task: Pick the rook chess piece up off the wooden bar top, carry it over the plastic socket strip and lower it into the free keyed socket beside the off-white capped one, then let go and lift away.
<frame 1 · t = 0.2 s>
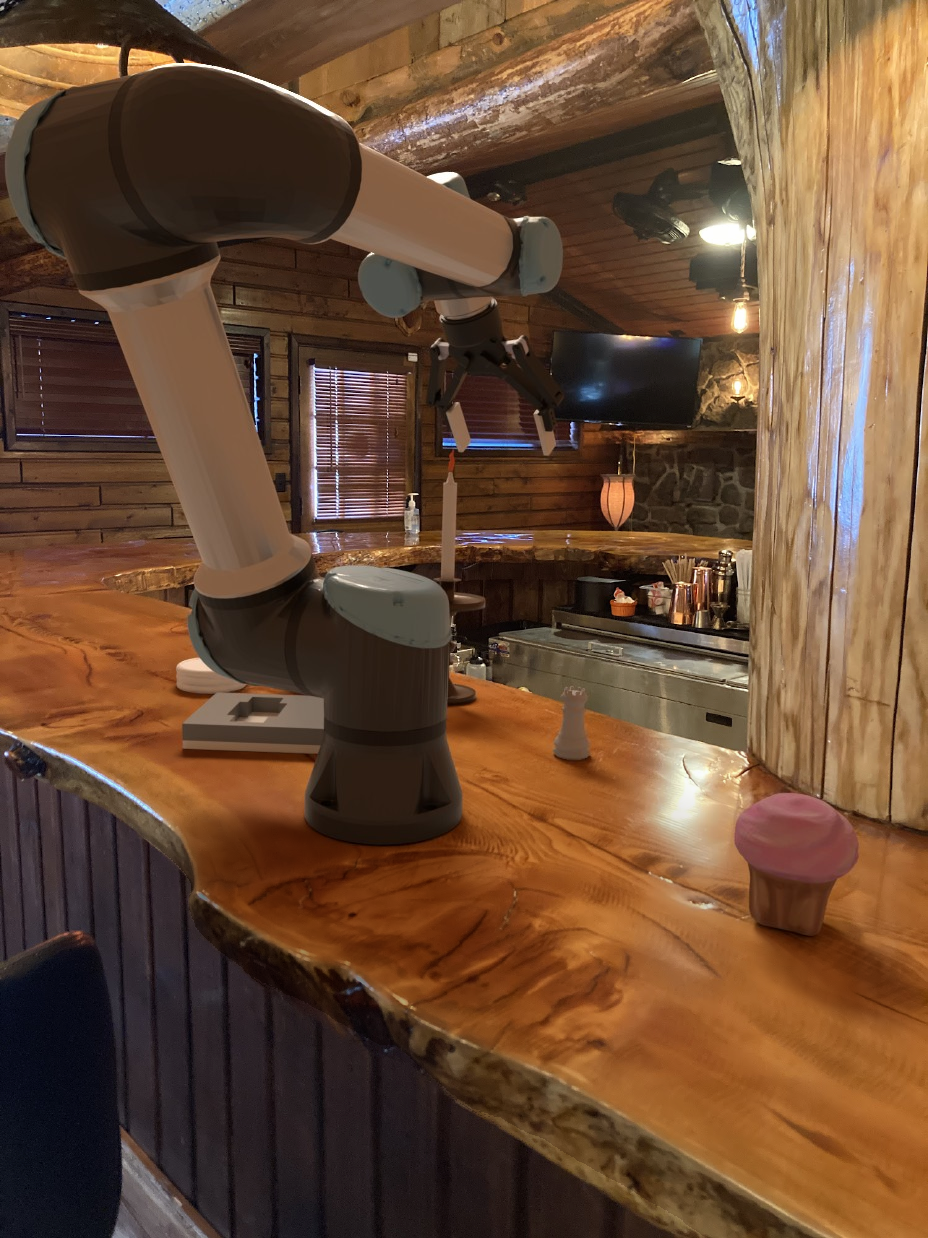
hand: (506, 448, 130), 35 cm above the counter, tool tilted 35°, fingers open, 13 cm apart
socket strip: (306, 734, 113), on the counter
rook chess piece: (571, 756, 109), on the counter
glass holder: (325, 683, 139), on the counter
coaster: (212, 687, 135), on the counter
cupcake: (786, 923, 71), on the counter
candlestick: (443, 698, 132), on the counter
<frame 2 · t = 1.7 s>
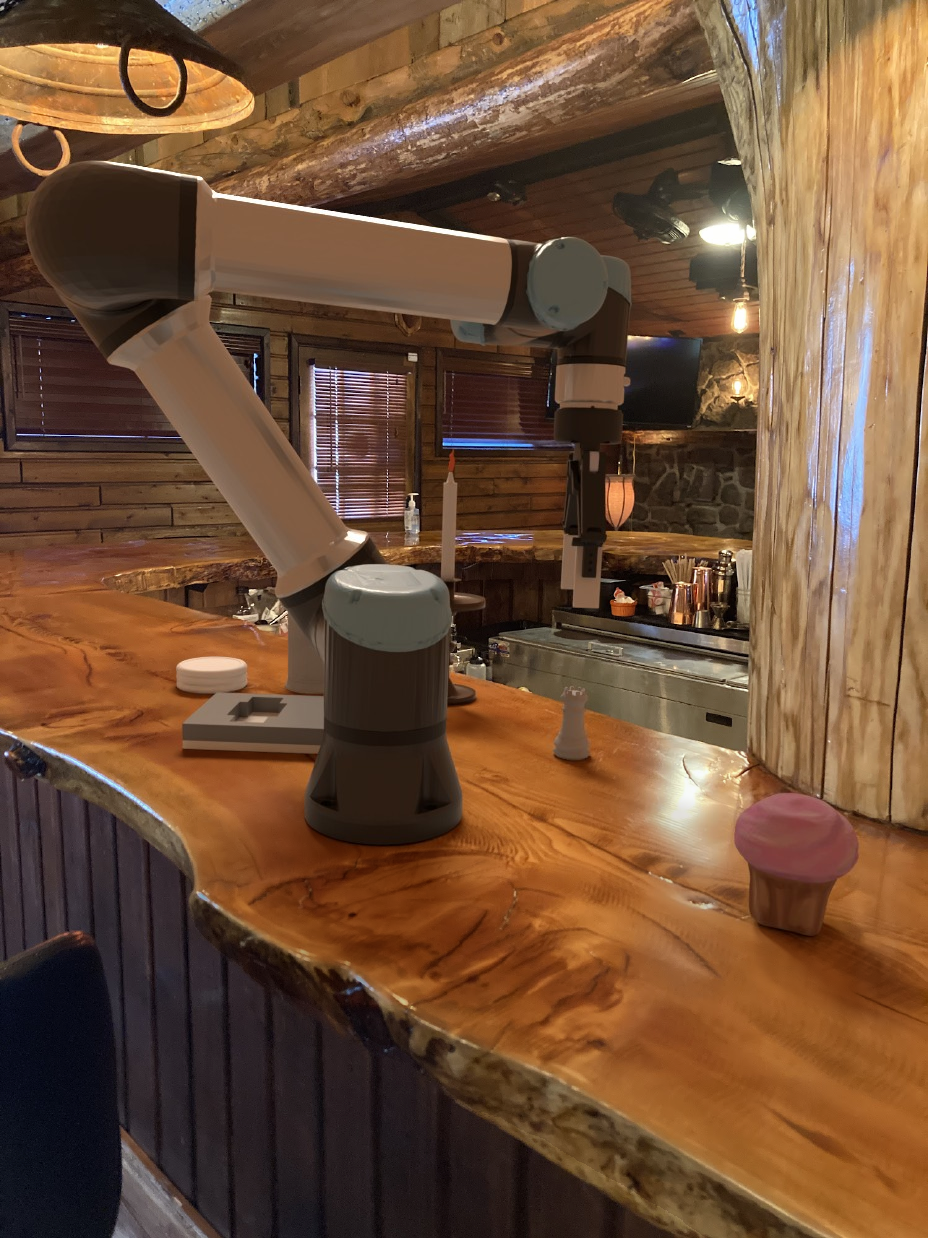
hand: (578, 597, 105), 19 cm above the counter, tool pointing down, fingers open, 13 cm apart
nothing on the counter moved.
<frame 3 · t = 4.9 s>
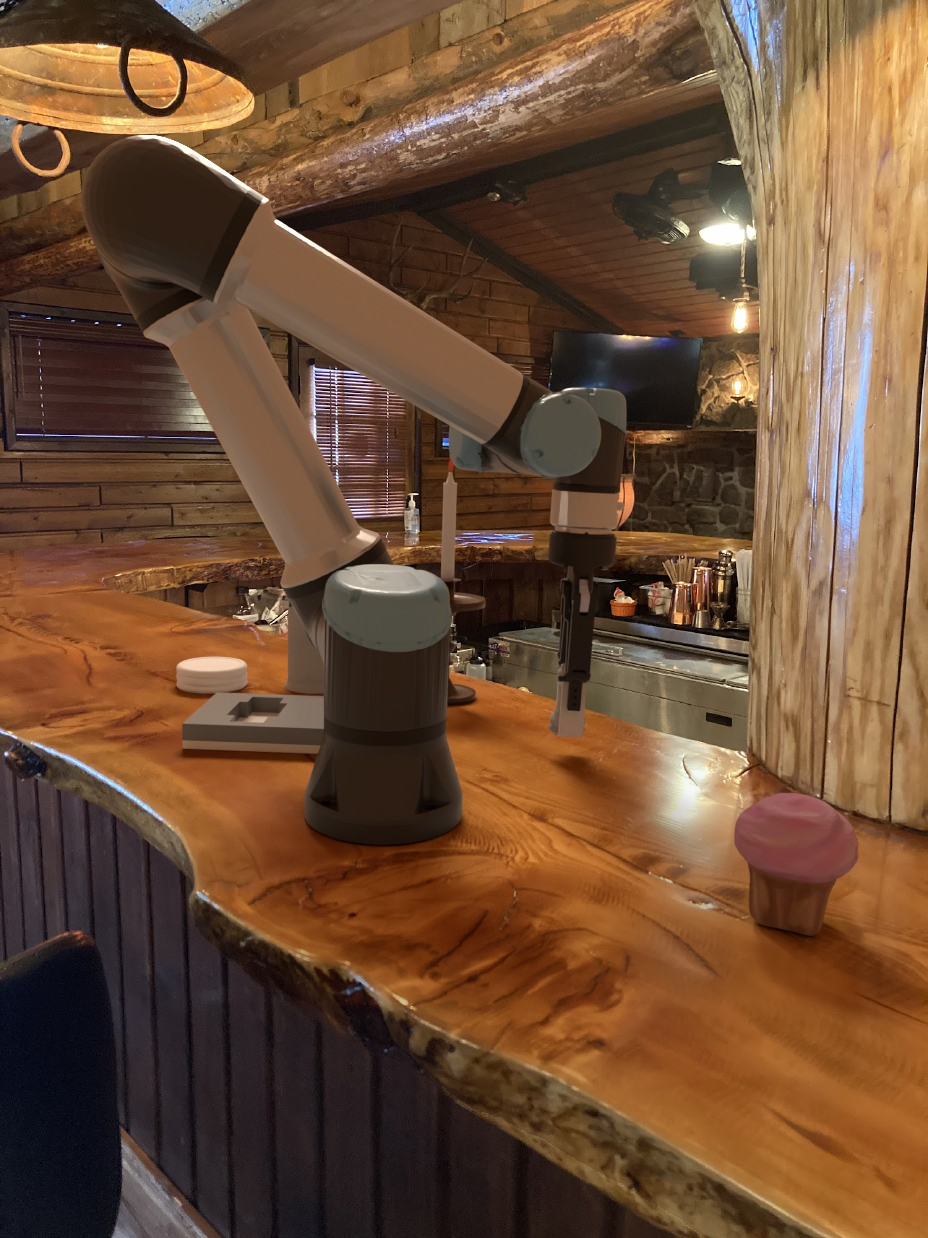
hand: (568, 729, 108), 3 cm above the counter, tool pointing down, fingers closed on rook chess piece, 4 cm apart
rook chess piece: (566, 733, 108), point 3 cm above the counter, touching gripper
everything else where it was.
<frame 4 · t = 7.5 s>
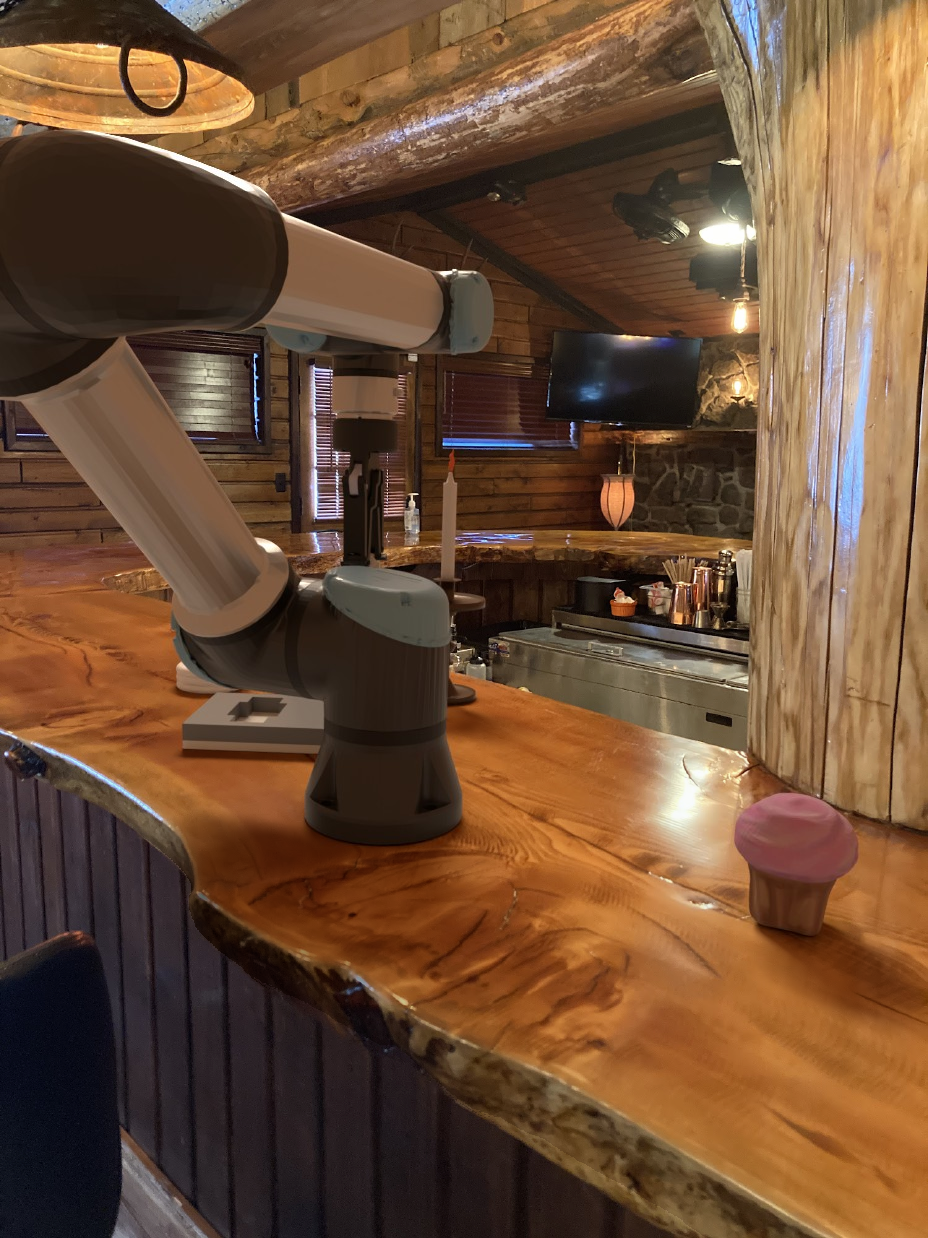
hand: (364, 618, 109), 15 cm above the counter, tool pointing down, fingers closed on rook chess piece, 4 cm apart
rook chess piece: (363, 622, 109), point 14 cm above the counter, touching gripper
everything else where it was.
when the fingers open (3 cm above the counter, at t = 10.3 s): rook chess piece drops 2 cm, resting on socket strip.
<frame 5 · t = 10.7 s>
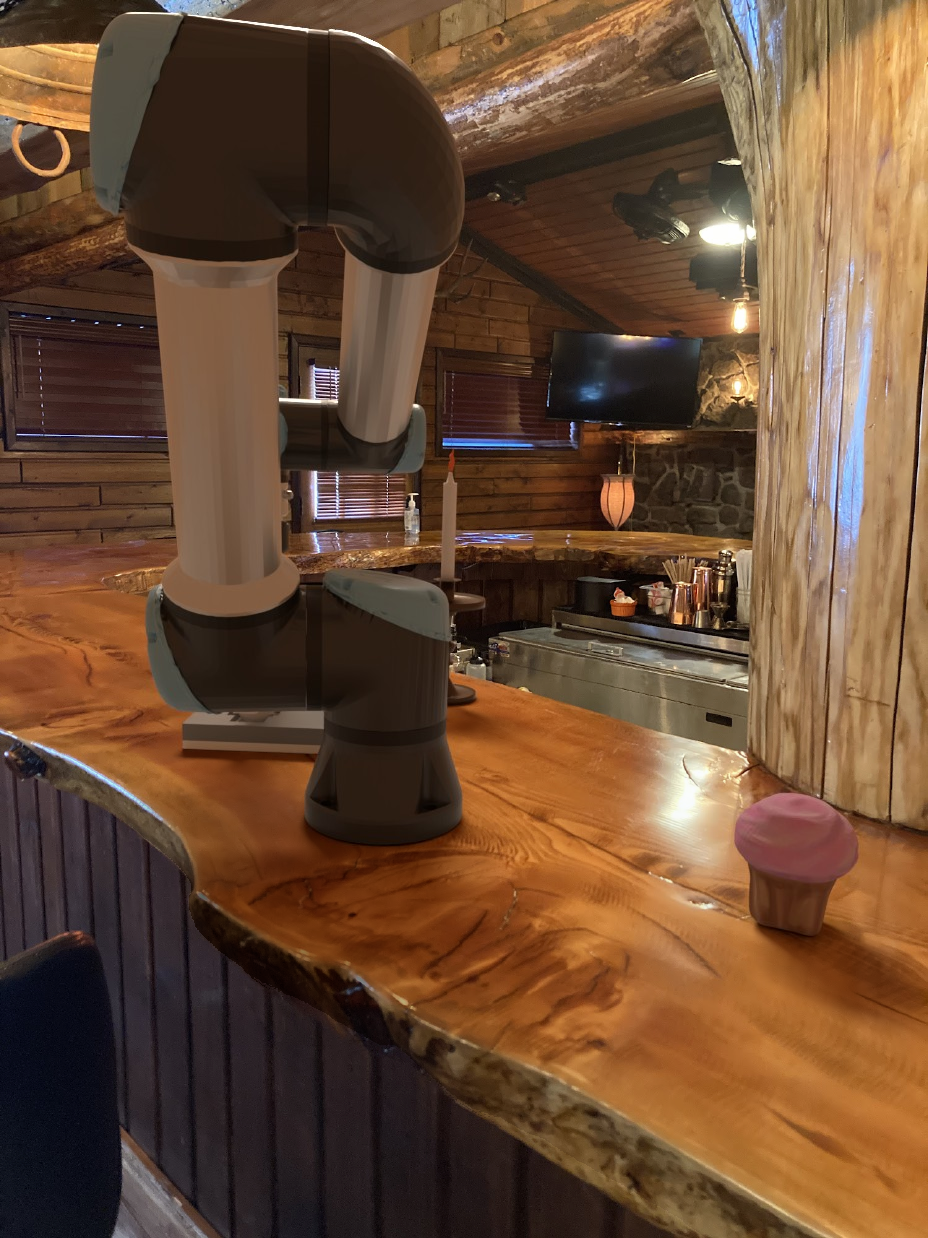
hand: (257, 699, 112), 4 cm above the counter, tool pointing down, fingers open, 11 cm apart
rook chess piece: (257, 726, 113), point 1 cm above the counter, touching socket strip
everything else where it was.
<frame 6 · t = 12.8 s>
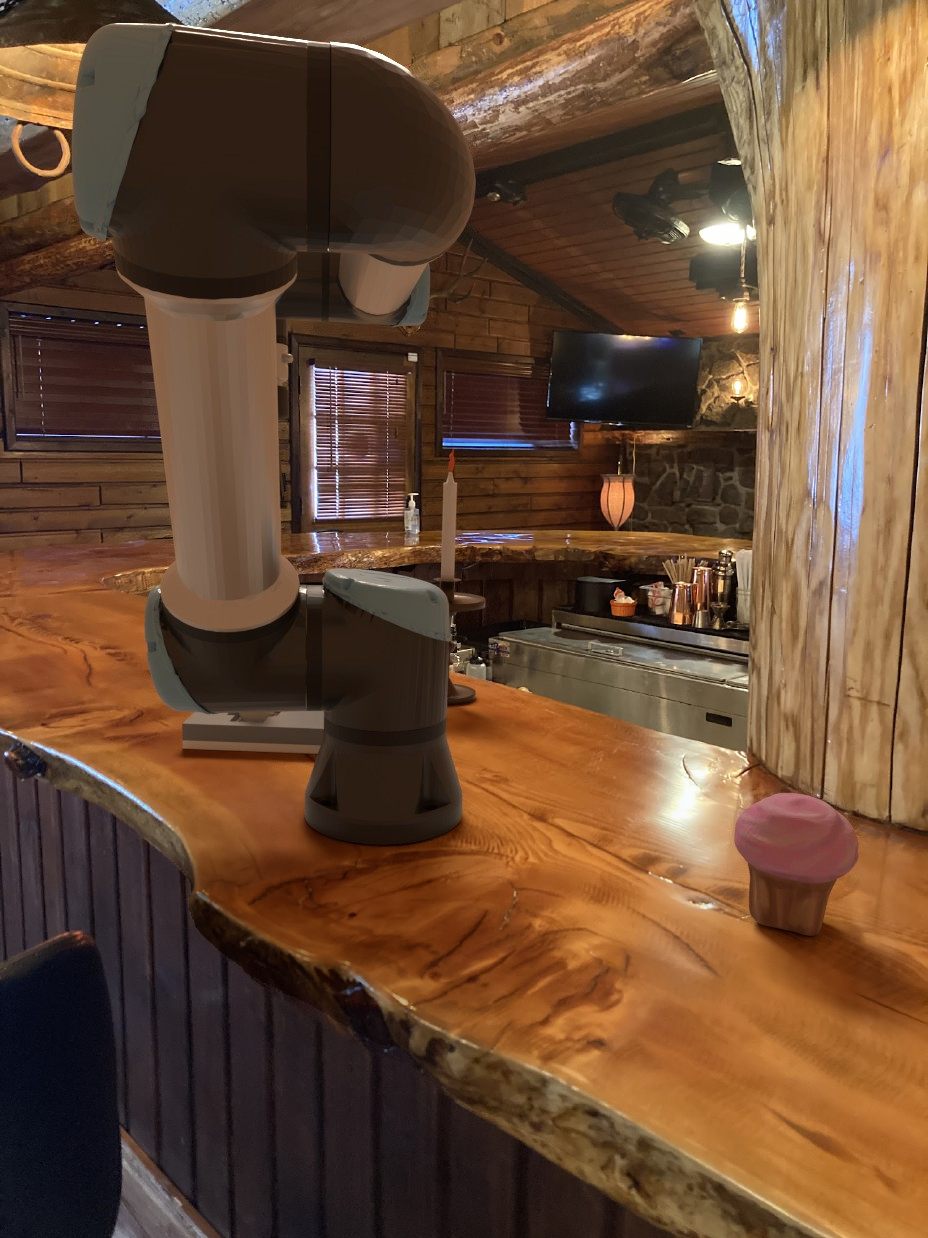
hand: (256, 568, 109), 20 cm above the counter, tool pointing down, fingers open, 13 cm apart
nothing on the counter moved.
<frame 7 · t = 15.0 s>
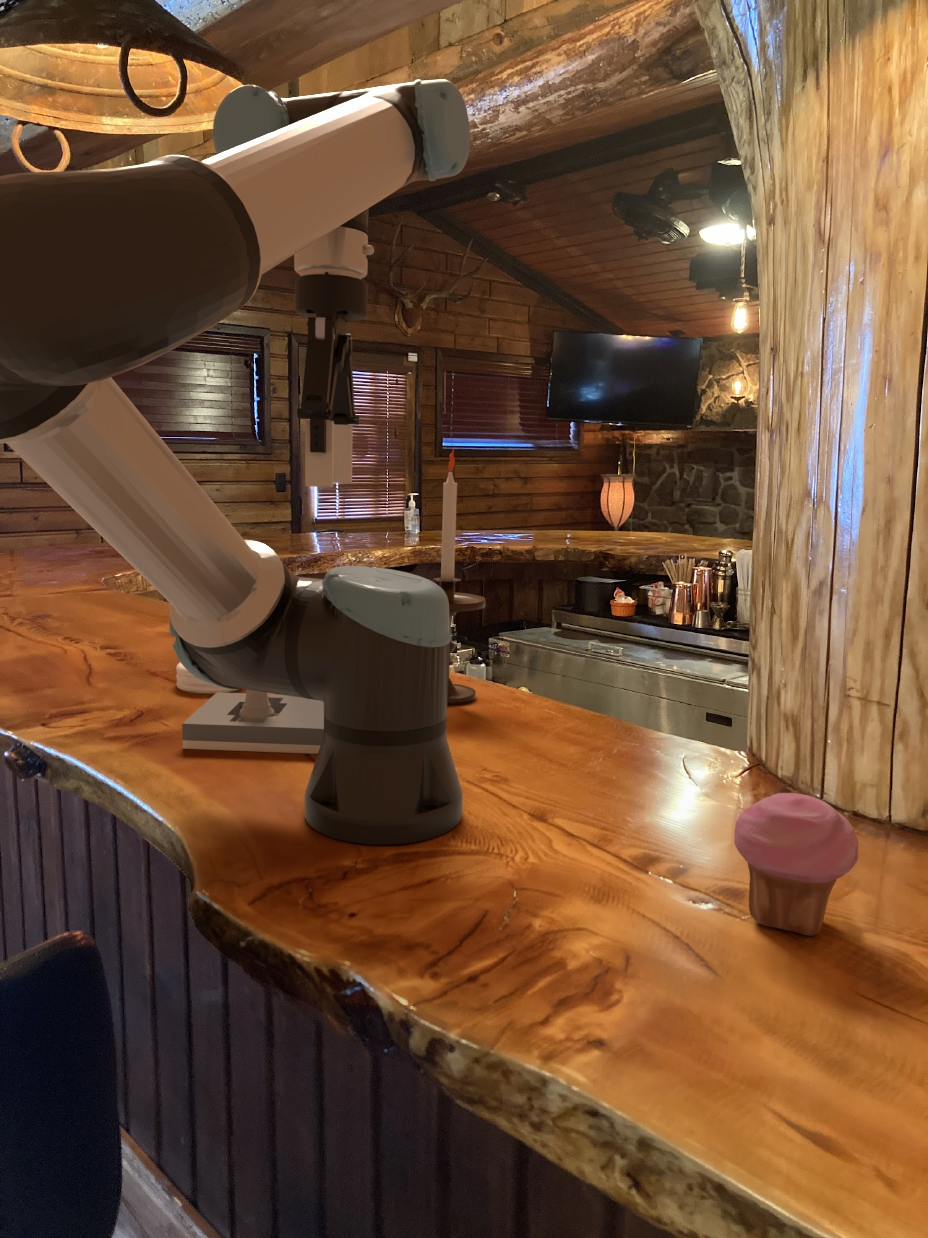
hand: (330, 484, 99), 31 cm above the counter, tool pointing down, fingers open, 13 cm apart
nothing on the counter moved.
at the end: rook chess piece 0.1 cm from the target spot on the socket strip, point 0.8 cm above the socket strip's base; rook chess piece tilted 0°; the gripper is holding nothing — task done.
